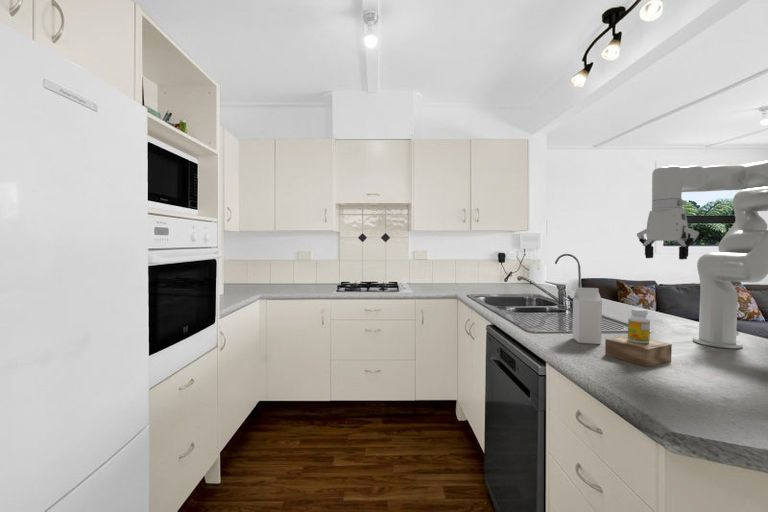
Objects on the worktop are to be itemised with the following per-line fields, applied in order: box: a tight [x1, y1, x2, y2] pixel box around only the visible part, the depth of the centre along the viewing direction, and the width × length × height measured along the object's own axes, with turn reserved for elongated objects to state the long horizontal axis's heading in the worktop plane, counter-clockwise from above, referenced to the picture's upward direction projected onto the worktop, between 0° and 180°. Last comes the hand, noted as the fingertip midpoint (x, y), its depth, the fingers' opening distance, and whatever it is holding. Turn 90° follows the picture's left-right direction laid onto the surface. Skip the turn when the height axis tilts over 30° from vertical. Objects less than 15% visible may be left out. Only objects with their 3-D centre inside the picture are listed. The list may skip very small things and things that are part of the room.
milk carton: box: [571, 287, 603, 345], centre depth 128 cm, size 7×7×19 cm
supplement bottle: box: [627, 307, 651, 343], centre depth 109 cm, size 5×5×10 cm
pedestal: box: [604, 334, 673, 368], centre depth 110 cm, size 12×12×5 cm
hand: (665, 258), depth 117 cm, fingers open, 9 cm apart
